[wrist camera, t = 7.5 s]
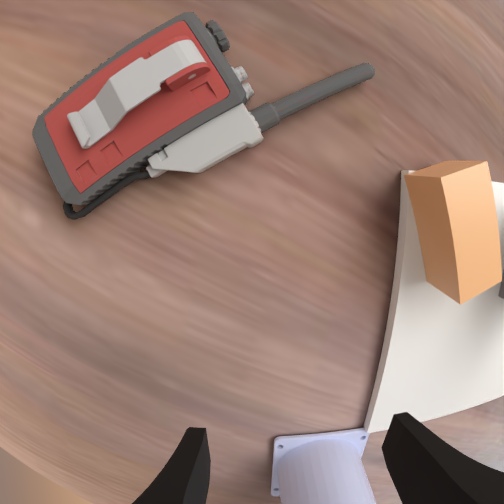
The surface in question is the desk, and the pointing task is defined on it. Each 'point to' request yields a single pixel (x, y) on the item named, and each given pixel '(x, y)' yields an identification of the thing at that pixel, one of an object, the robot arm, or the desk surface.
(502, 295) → the charcoal brick
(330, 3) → the desk surface
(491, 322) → the baseplate
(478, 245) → the terracotta brick
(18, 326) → the desk surface
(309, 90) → the walkie-talkie
